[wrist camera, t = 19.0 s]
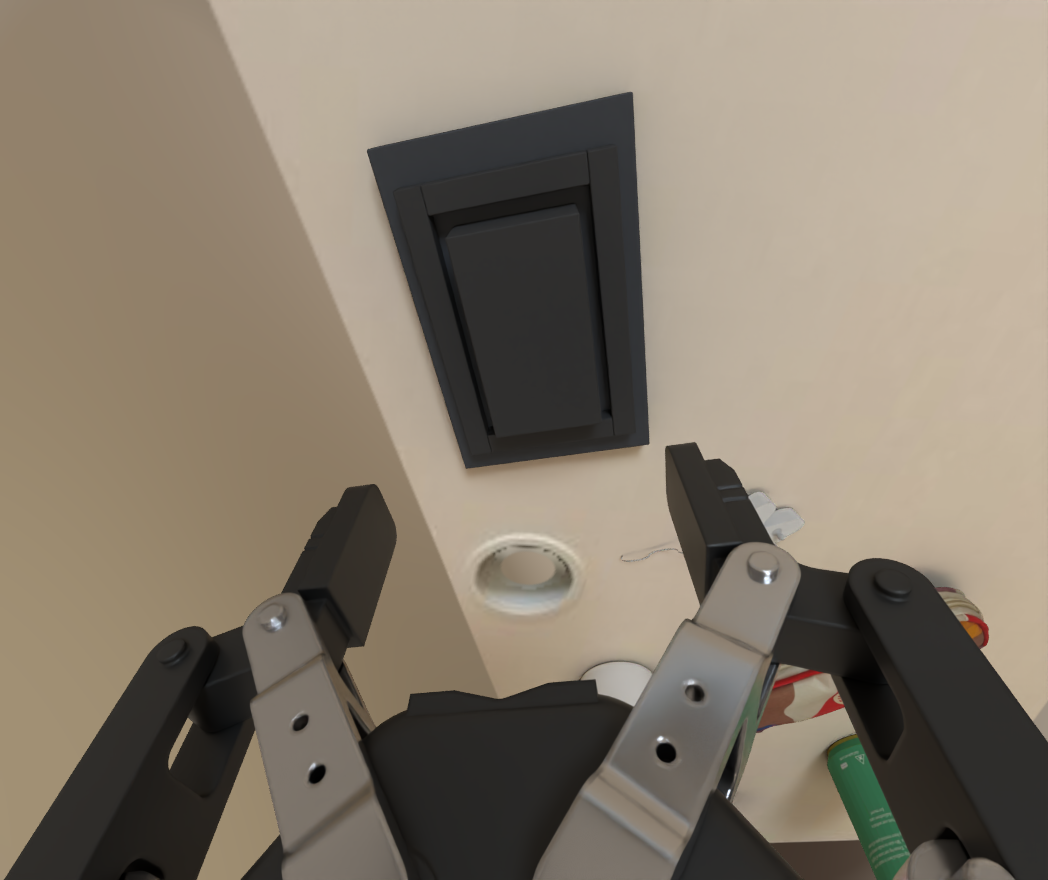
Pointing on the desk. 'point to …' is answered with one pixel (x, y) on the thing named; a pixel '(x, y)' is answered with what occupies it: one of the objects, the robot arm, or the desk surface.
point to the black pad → (529, 318)
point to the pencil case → (816, 692)
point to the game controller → (769, 519)
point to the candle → (620, 680)
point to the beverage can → (867, 807)
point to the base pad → (509, 188)
